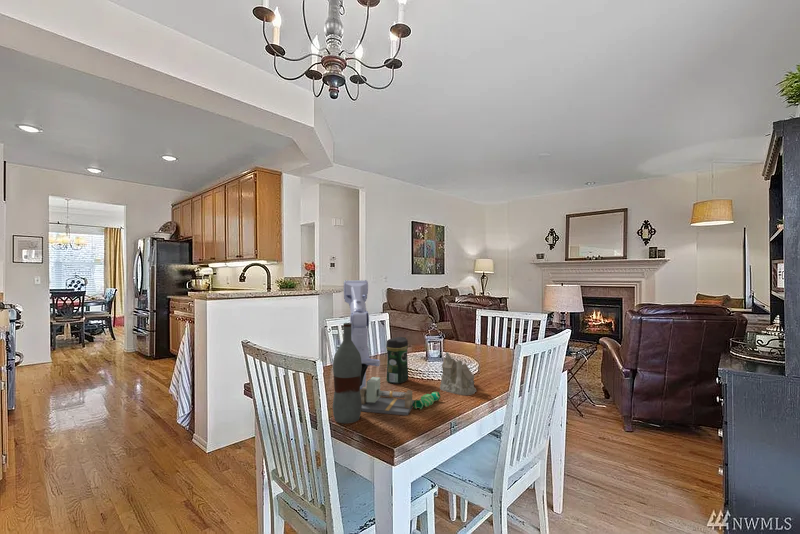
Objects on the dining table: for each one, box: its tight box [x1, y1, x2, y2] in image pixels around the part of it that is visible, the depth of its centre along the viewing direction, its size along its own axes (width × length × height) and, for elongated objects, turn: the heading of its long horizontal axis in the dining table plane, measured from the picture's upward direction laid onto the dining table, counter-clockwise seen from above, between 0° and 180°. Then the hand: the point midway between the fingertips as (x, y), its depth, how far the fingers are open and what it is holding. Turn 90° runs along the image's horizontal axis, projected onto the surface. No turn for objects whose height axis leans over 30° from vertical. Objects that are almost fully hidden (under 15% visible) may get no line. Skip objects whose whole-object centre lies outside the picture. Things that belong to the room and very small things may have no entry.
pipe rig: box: [360, 386, 416, 416], centre depth 130 cm, size 18×12×6 cm, turn 76°
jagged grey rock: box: [439, 351, 477, 396], centre depth 152 cm, size 16×16×15 cm
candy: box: [413, 391, 441, 411], centre depth 132 cm, size 12×3×4 cm
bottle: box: [332, 322, 362, 424], centre depth 120 cm, size 9×9×30 cm
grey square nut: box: [366, 376, 381, 403], centre depth 131 cm, size 3×6×7 cm, turn 166°
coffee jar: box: [385, 336, 409, 384], centre depth 161 cm, size 10×8×19 cm
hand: (359, 385), depth 133 cm, fingers closed
